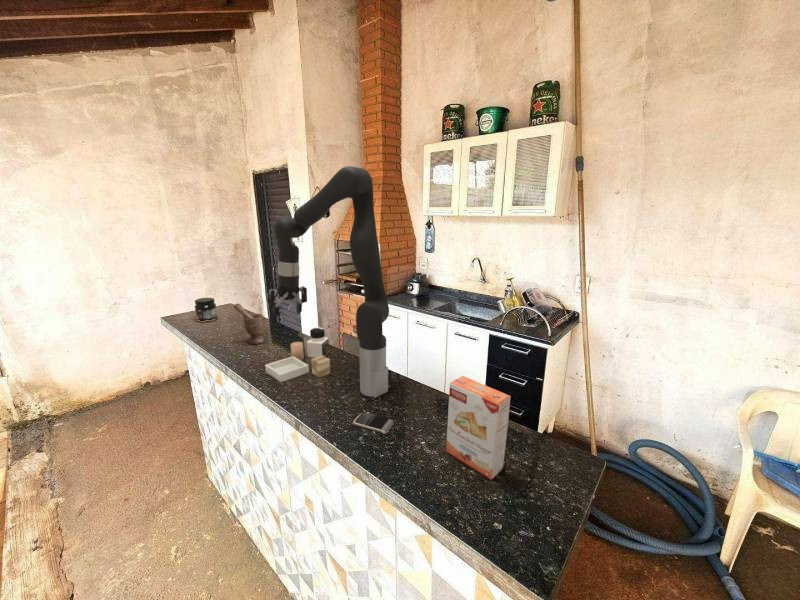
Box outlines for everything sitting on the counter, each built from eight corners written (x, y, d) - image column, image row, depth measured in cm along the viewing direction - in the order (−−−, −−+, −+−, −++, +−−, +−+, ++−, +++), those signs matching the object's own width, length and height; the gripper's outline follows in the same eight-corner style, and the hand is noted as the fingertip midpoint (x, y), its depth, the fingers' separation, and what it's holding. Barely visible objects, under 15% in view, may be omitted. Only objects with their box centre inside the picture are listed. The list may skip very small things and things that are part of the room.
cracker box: (444, 453, 92) (448, 381, 86) (458, 442, 96) (462, 374, 91) (491, 482, 82) (498, 404, 77) (503, 469, 86) (511, 394, 81)
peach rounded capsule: (306, 359, 147) (305, 344, 145) (295, 362, 144) (294, 347, 142) (300, 355, 151) (299, 340, 149) (289, 359, 147) (288, 343, 145)
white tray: (309, 372, 136) (308, 365, 135) (280, 382, 127) (279, 375, 127) (293, 362, 144) (293, 356, 143) (265, 371, 135) (265, 364, 135)
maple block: (330, 373, 135) (329, 359, 134) (319, 377, 132) (318, 363, 130) (323, 369, 138) (322, 355, 137) (312, 373, 135) (311, 359, 133)
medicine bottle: (322, 358, 148) (321, 332, 145) (307, 357, 149) (305, 331, 146) (329, 352, 155) (328, 326, 152) (314, 350, 156) (313, 325, 153)
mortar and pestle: (245, 349, 157) (240, 306, 152) (236, 344, 162) (231, 303, 157) (269, 341, 166) (265, 301, 161) (259, 337, 171) (255, 298, 166)
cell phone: (362, 415, 109) (362, 411, 108) (394, 423, 105) (394, 419, 104) (352, 426, 103) (352, 422, 103) (385, 435, 99) (385, 431, 99)
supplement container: (197, 318, 199) (194, 298, 196) (218, 316, 203) (215, 296, 200) (195, 323, 190) (192, 302, 187) (217, 321, 194) (214, 301, 191)
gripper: (273, 276, 120) (272, 320, 125) (311, 274, 129) (309, 315, 134) (265, 271, 126) (265, 313, 130) (302, 269, 135) (301, 309, 139)
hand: (287, 314), depth 132 cm, fingers open, 8 cm apart
